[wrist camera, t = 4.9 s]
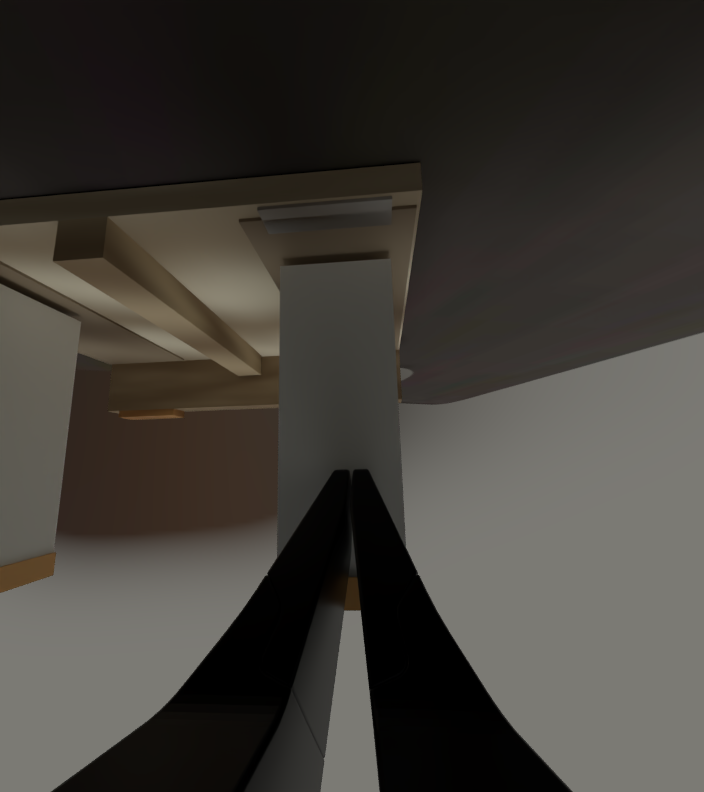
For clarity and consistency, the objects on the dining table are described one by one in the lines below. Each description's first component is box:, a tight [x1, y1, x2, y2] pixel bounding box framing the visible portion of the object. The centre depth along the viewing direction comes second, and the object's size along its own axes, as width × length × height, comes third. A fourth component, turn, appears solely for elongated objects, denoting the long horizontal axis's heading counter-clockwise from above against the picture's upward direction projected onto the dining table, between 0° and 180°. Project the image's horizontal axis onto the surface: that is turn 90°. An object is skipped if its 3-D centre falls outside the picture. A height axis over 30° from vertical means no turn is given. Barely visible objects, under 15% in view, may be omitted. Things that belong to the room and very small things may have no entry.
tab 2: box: [277, 259, 406, 610], centre depth 12 cm, size 4×4×10 cm
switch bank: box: [0, 163, 422, 420], centre depth 16 cm, size 14×18×4 cm
